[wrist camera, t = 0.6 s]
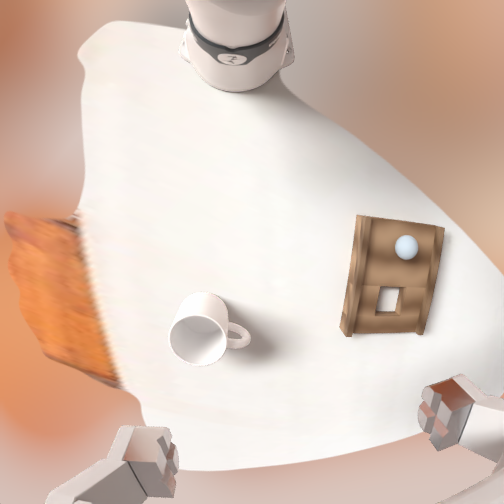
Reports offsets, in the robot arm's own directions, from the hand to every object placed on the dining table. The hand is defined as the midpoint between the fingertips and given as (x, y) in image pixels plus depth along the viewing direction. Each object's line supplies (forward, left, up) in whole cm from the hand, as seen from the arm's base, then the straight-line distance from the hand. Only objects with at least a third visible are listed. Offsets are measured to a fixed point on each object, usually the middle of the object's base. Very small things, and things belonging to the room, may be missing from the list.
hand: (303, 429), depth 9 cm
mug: (+15, -5, -43) cm, 46 cm away
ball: (0, +26, -41) cm, 48 cm away
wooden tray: (+6, +26, -43) cm, 50 cm away
